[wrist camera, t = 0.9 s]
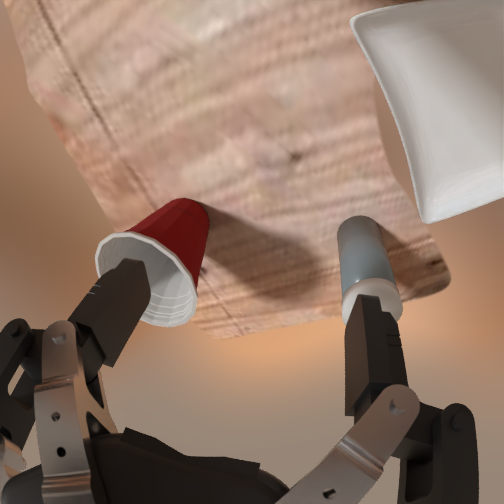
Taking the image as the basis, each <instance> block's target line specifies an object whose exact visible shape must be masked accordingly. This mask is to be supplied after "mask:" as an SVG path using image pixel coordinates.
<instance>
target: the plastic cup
mask: <svg viewBox="0 0 504 504" xmlns="http://www.w3.org/2000/svg"><path fill="white" fill-rule="evenodd" d="M208 230H209V219H208V215H207V213H206V211H205V210H204V209H203V207H202V206H201V205H200V204H198V203H197V202H195V201H194V200H190V199H187V198H179V199H175V200H172V201H170V202H169V203H167V204H166V205H164V206H163V207H162V208H160V209H158V210H157V211H155V212H154V213H152V214H151V215H149V216H148V217H147V218H145V219H144V220H142V221H141V222H140V223H138V224H137V225H135V226H134V227H132V228H131V229H129V230H126V231H124V232H115V233H112V234H111V235H109V236H108V237H106V238H105V239H104V240H103V241H101V242H100V243H99V246H98V249H97V252H96V255H95V261H96V268H97V274H98V276H99V278H100V277H101V276H102V275H103V274H105V273H106V272H108V271H109V270H111V269H112V268H113V269H115V268H116V267H117V266H118V264H119V263H120V262H121V261H122V260H123V259H124V258H129V259H135V260H141V261H143V262H144V264H145V267H146V272H147V276H148V281H149V285H150V289H151V298H150V302H149V305H148V306H147V308H146V310H145V312H144V313H143V315H142V317H141V318H140V320H142V321H145V322H147V323H149V324H152V325H156V326H164V327H174V326H178V325H182V324H185V323H186V322H187V321H188V320H189V319H190V318H191V317H192V316H193V315H194V314H195V311H196V304H197V297H198V293H197V285H198V278H199V273H200V268H201V264H202V260H203V256H204V252H205V247H206V240H207V235H208Z"/></svg>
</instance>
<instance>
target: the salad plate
mask: <svg viewBox="0 0 504 504" xmlns="http://www.w3.org/2000/svg"><path fill="white" fill-rule="evenodd" d="M350 27H351V30H352V32H353V34H354V36H355V38H356V40H357V42H358V44H359V45H360V47H361V49H362V51H363V53H364V55H365V57H366V59H367V60H368V62H369V64H370V66H371V68H372V70H373V72H374V74H375V76H376V78H377V80H378V82H379V84H380V86H381V88H382V91H383V93H384V95H385V97H386V99H387V102H388V105H389V107H390V109H391V112H392V115H393V117H394V120H395V122H396V125H397V128H398V131H399V134H400V137H401V140H402V144H403V147H404V150H405V154H406V157H407V161H408V165H409V170H410V174H411V179H412V184H413V189H414V194H415V199H416V203H417V208H418V212H419V215H420V218H421V220H422V221H423V223H425V224H431V223H435V222H438V221H442V220H445V219H448V218H451V217H453V216H456V215H459V214H462V213H464V212H467V211H470V210H473V209H475V208H478V207H481V206H483V205H486V204H488V203H491V202H494V201H496V200H499V199H501V198H503V197H504V0H422V1H416V2H409V3H403V4H398V5H392V6H387V7H383V8H378V9H374V10H370V11H367V12H363V13H361V14H358V15H356V16H354V17H352V18H351V19H350Z"/></svg>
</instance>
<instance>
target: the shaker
mask: <svg viewBox="0 0 504 504" xmlns="http://www.w3.org/2000/svg"><path fill="white" fill-rule="evenodd" d="M337 241H338V251H339V261H340V273H341V286H342V319H343V322H344V324H345V325H346V324H347V321H348V319H349V316H350V313H351V311H352V308H353V305H354V303H355V300H356V297H357V295H358V294H364V295H373V296H378V297H379V298H380V303H381V308H382V311H385V312H390V313H391V314H392V316H393V317H394V319H395V320H396V322H397V321H398V320H399V319H400V317H401V315H402V311H403V306H402V302H401V298H400V294H399V290H398V288H397V286H396V283H395V279H394V275H393V271H392V268H391V264H390V261H389V257H388V254H387V251H386V247H385V244H384V241H383V238H382V235H381V231H380V228H379V226H378V224H377V223H376V222H375V221H374V220H373V219H371V218H369V217H366V216H354V217H351V218H349V219H347V220H345V221H344V222H343V223H342V224H341V225H340V227H339V229H338V232H337Z"/></svg>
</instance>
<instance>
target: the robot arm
mask: <svg viewBox="0 0 504 504" xmlns="http://www.w3.org/2000/svg"><path fill="white" fill-rule="evenodd" d="M150 298H151V289H150V285H149V281H148V276H147V272H146V267H145V264H144V262H143V261H141V260H135V259H129V258H124V259H123V260H122V261H121V262H120V263H119V264H118V266H117V267H116V268H115V269H113V268H112V269H111V270H109V271H108V272H106V273H105V274H103V275H102V276H101V277H100V278H99V280H98V281H97V282H96V283H95V286H93V287H92V288H91V290H90V291H89V294H87V295H86V296H85V297H84V299H83V300H82V301H81V302H80V304H79V305H78V306H77V308H76V309H75V310H74V312H73V313H72V314H71V316H70V317H69V318H68V320H60V321H56V322H54V323H52V324H50V325H49V326H48V327H47V328H46V330H43V329H31V328H30V327H29V325H28V323H27V322H26V321H25V320H24V319H21V318H19V319H14V320H12V321H10V322H9V323H8V324H7V325H6V326H5V327H4V328H3V330H2V331H1V333H0V501H1V504H358V503H359V502H360V500H361V499H362V498H363V497H364V496H365V495H366V494H367V492H368V491H369V490H370V489H371V488H372V486H373V485H374V484H375V483H376V481H377V480H378V479H379V477H380V476H381V474H382V472H383V466H384V465H385V463H386V461H387V460H388V459H389V457H390V456H393V457H396V458H400V478H399V489H398V500H397V504H478V501H479V471H478V451H477V439H476V429H475V421H474V417H473V414H472V412H471V411H470V410H469V409H468V408H467V407H466V406H465V405H463V404H459V403H454V404H451V405H449V406H448V407H446V408H445V409H444V410H442V409H439V408H436V407H433V406H429V405H426V404H424V403H422V402H420V401H419V399H418V397H417V395H416V393H415V392H414V391H413V390H412V389H410V388H409V386H408V382H407V374H406V368H405V362H404V356H403V350H402V348H401V346H402V344H401V339H400V338H399V336H400V334H399V330H398V324H397V322H396V320H395V319H394V317H393V316H392V314H391V313H390V312H385V311H382V308H381V303H380V298H379V297H378V296H373V295H364V294H358V295H357V297H356V300H355V303H354V305H353V308H352V311H351V313H350V316H349V319H348V321H347V324H346V329H345V416H354V426H353V427H352V428H351V429H350V430H349V431H348V433H347V434H346V435H345V436H344V437H343V438H342V439H341V440H340V441H339V442H338V443H337V445H336V446H335V447H334V448H333V449H332V450H331V451H330V452H329V453H328V454H327V455H326V456H325V457H324V458H323V459H322V460H321V461H320V462H319V463H318V464H317V465H316V466H315V467H314V468H313V469H312V470H311V471H310V472H308V473H307V474H306V475H305V476H304V477H303V478H302V479H301V480H300V481H299V482H297V483H296V484H295V485H294V486H293V487H292V488H291V489H289V488H288V487H287V486H286V485H285V484H284V483H283V482H282V481H281V480H279V479H278V478H276V477H275V476H273V475H271V474H269V473H268V472H266V471H263V470H261V469H259V467H260V463H256V462H250V461H244V460H238V459H233V458H228V457H196V456H186V455H183V454H182V453H180V452H178V451H176V450H175V449H173V448H171V447H169V446H168V445H166V444H165V443H163V442H161V441H160V440H158V439H156V438H154V437H152V436H149V435H146V434H143V433H140V432H137V431H134V430H132V429H129V428H127V427H126V428H125V430H124V432H123V433H118V431H117V428H116V426H115V424H114V422H113V420H112V418H111V416H110V413H109V410H108V405H107V400H106V396H105V391H104V387H103V381H102V375H101V372H100V370H99V369H100V368H101V366H102V364H104V365H107V366H110V367H113V366H114V364H115V362H116V361H117V359H118V357H119V355H120V353H121V351H122V350H123V348H124V346H125V344H126V343H127V341H128V339H129V337H130V335H131V334H132V332H133V330H134V329H135V327H136V325H137V323H138V322H139V320H140V318H141V317H142V315H143V313H144V312H145V310H146V308H147V306H148V305H149V302H150ZM19 365H21V366H22V368H23V369H24V372H23V374H22V376H21V378H20V379H19V381H18V383H17V385H16V387H15V389H14V390H13V392H12V394H11V395H9V393H8V384H9V382H10V380H11V379H12V377H13V375H14V373H15V372H16V370H17V368H18V366H19ZM35 420H36V430H37V439H38V447H39V453H40V459H41V464H40V465H38V466H35V467H33V468H31V469H29V470H27V471H24V472H22V473H21V470H24V469H25V468H26V461H25V459H24V458H23V457H22V450H23V447H24V445H25V442H26V440H27V438H28V435H29V433H30V431H31V429H32V426H33V424H34V422H35Z"/></svg>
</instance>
